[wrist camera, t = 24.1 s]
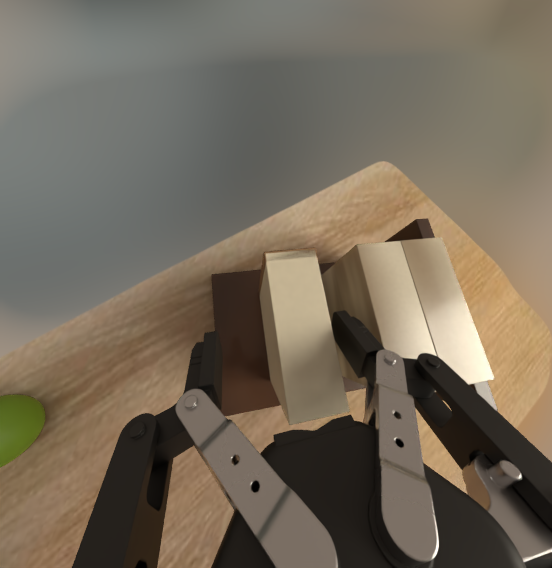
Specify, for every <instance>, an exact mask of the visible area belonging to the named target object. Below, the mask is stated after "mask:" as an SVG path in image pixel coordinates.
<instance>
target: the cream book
mask: <svg viewBox="0 0 552 568" xmlns="http://www.w3.org/2000/svg"><path fill="white" fill-rule="evenodd" d="M258 291H259V296H260V304H261V311H262V319H263V327H264V334H265V342H266V350H267V357H268V365H269V372H270V380H271V383H272V385H273V388H274V390H275V392H276V395H277V397H278V399H279V402H280V404H281V406H282V409H283V411H284V413H285V416H286V418H287V421H288V423H289V425H293V424H297V423H302V422H306V421H311V420H315V419H319V418H324V417H328V416H333V415H337V414H342V413H346V412H349V406H348V402H347V397H346V392H345V387H344V383H343V378H342V373H341V368H340V364H339V359H338V354H337V350H336V345H335V340H334V335H333V331H332V326H331V321H330V316H329V312H328V307H327V302H326V297H325V293H324V288H323V283H322V278H321V274H320V269H319V264H318V260H317V252H316V248H304V249H292V250H281V251H270V252H264V254H263V261H262V268H261V275H260V282H259V289H258Z"/></svg>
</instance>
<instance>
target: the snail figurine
mask: <svg viewBox="0 0 552 568" xmlns="http://www.w3.org/2000/svg"><path fill="white" fill-rule="evenodd" d="M44 422H45V410H44V407H43V406H42V404H41V403H40V402H39V401H38V400H36V399H35V398H33V397H30V396H26V395H18V394H13V395H3V396H0V467H2V466H4V465H6V464H8V463H9V462H11V461H12V460H14V459H15V458H17V457H18V456H19V455H21V454H22V453H23V452H24V451H25V450H26V449H28V448H29V447H30V446H31V444H32V443H33V442H34V441H35V440H36V438H37V437H38V435H39V434H40V432H41V430H42V428H43V426H44Z"/></svg>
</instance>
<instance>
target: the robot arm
mask: <svg viewBox="0 0 552 568" xmlns="http://www.w3.org/2000/svg"><path fill="white" fill-rule="evenodd" d="M331 326H332V331H333V335H334V340H335V342H336V343H337V345H338V346H339V348H340V350H341V351H342V353H343V354H344V356H345V358H346V359H347V361H348V362H349V364H350V366H351V367H352V369H353V370H354V372H355V374H356V375H357V377H358V379H359V378H363V377H365V378H366V379H367V384H366V401H365V415H364V419H363V423H362V422H358V421H354V420H353V418H352V416H351V415H348V416H344V417H340V418H336V419H333V420H331V421H330V422H328V423H327V424H325V425H324V426H322V427H321V428H319V429H318V430H315V431H310V430H291V431H287V432H283V433H279V434H276V435H274V442H272V443H271V444H269V445H268V446H267V447H266V448H265V449H264V450H263V451H262V452H261V453H259V452H258V451H257V450H256V449H255V447H254V446H253V445H252V444H251V443H250V441H249V440H248V439H247V438H246V437H245V436H244V434H243V433H242V432H241V431H240V430H239V428H238V427H237V426H236V425H235V424H234V423H233V422H232V421H231V420H228V419H227V418H226V417H225V416H224V415H223V414H222V413H221V411H220V410H221V409H222V365H223V354H222V347H221V343H220V339H219V334H218V331H213V332H207V333H205V335H204V342H199V343H196V345H195V346H194V348H193V349H192V353H191V359H190V364H189V369H188V374H187V380H186V385H185V390H184V393H183V395H182V396H181V397H180V398H179V400H178V402H177V403H176V404H175V405H174V406H172V407H171V408H169V409H167V410H165V411H164V412H162V413H160V414H158V415H156V416H153V415H152V414H149V413H145V414H141V415H139V416H137V417H135V418H133V419H132V420H131V421H130V422H129V423H128V424H127V425H126V426H125V427H124V428H123V430H122V432H121V434H120V436H119V439H118V442H117V444H116V447H115V450H114V453H113V455H112V458H111V461H110V464H109V467H108V469H107V472H106V475H105V478H104V480H103V483H102V486H101V489H100V491H99V494H98V497H97V500H96V503H95V505H94V508H93V511H92V514H91V516H90V519H89V522H88V525H87V528H86V530H85V533H84V536H83V539H82V541H81V544H80V547H79V550H78V552H77V555H76V558H75V561H74V564H73V566H72V568H157V565H158V558H159V551H160V545H161V538H162V531H163V525H164V518H165V511H166V504H167V498H168V491H169V484H170V478H171V471H172V464H173V458H174V457H176V456H178V455H179V454H181V453H182V452H184V451H185V450H187V449H189V448H190V447H192V446H193V445H194V446H195V448H196V449H197V451H198V453H199V454H200V456H201V457H202V459H203V461H204V462H205V464H206V465H207V467H208V468H209V470H210V472H211V473H212V475H213V477H214V478H215V480H216V482H217V483H218V485H219V487H220V488H221V490H222V492H223V493H224V495H225V496H226V498H227V499H228V501H229V503H230V504H231V506H232V507H233V509H234V513H233V516H232V518H231V521H230V523H229V526H228V528H227V530H226V533H225V535H224V538H223V540H222V542H221V545H220V547H219V550H218V552H217V555H216V557H215V559H214V562H213V564H212V567H211V568H526V566H525V563H524V562H526V561H529V560H531V559H534V558H537V557H538V558H541V559H550V558H552V462H551V461H550V460H548V459H547V458H546V457H545V456H544V455H543V454H542V453H541V452H540V451H539V450H538V449H537V448H536V447H535V446H534V445H533V444H531V443H530V442H529V441H528V440H527V439H526V438H525V437H524V436H523V435H522V434H521V433H520V432H519V431H518V430H517V429H515V428H514V427H513V426H512V425H511V424H510V423H509V422H508V421H507V420H506V419H505V418H504V417H503V416H502V415H501V414H499V413H498V412H497V411H496V410H495V409H494V408H493V407H492V406H491V405H490V404H489V403H488V402H487V401H486V400H485V399H483V398H482V397H481V396H480V395H479V394H478V393H477V392H476V391H475V390H474V389H473V388H472V387H471V386H470V385H469V384H468V383H466V382H465V381H464V380H463V379H462V378H461V377H460V376H459V375H458V374H457V373H456V372H455V371H454V370H453V369H452V368H450V367H449V366H448V365H447V364H446V363H445V362H444V361H443V360H442V359H440V358H439V357H437V356H435V355H433V354H429V353H421V354H419V356H418V357H417V359H411V358H401V357H400V356H399V355H398V354H397V353H395V352H393V351H391V350H386V349H385V348H384V347H383V346H382V345H381V344H380V342H379V341H378V340H377V339H376V338H375V337H374V336H373V334H372V333H371V332H369V330H368V329H367V328H366V327H365V325H364V324H363V323H362V322H361V321H360V320H359V319H357V318H355V317H354V316H353V317H351V316H350V315H349V314H348V313H347V311H345V310H343V311H337V312H334V313H333V317H332V323H331ZM435 391H436V392H437V393H438V394H439V395H440V396H441V397H442V399H443V400H444V401H445V402H446V403H447V404H448V405H449V407H450V408H451V410H452V411H451V410H450V409H449V408H448V407H447V406H446V404H445V403H444V402H443V401H442V400H441V399H440V398H439V397H438V395H437V394H436V393H435ZM415 408H416V409H417V410H418V412H419V413H420V414H421V416H422V417H423V418H424V420H425V421H426V422H427V424H428V425H429V426H430V428H431V429H432V430H433V432H434V433H435V434H436V436H437V437H438V438H439V440H440V441H441V442H442V444H443V445H444V446H445V448H446V449H447V450H448V452H449V453H450V454H451V456H452V457H453V459H454V460H455V461H456V463H457V464H458V465H459V467H460V468H461V469H462V475H463V479H464V482H465V484H466V490H467V493H468V494H469V496H468V495H467V494H466V493H464V492H463V491H461V490H460V489H459V488H457V487H456V486H455V485H453V484H452V483H450V482H449V481H448V480H446V479H445V478H443V477H442V476H441V475H439V474H438V473H437V472H435V471H434V470H432V469H431V468H430V467H428V466H427V465H426V464H424V463H423V459H422V452H421V446H420V439H419V432H418V425H417V418H416V412H415Z"/></svg>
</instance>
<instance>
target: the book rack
mask: <svg viewBox="0 0 552 568" xmlns="http://www.w3.org/2000/svg"><path fill="white" fill-rule="evenodd" d="M319 269H320V274H321V278H322V283H323V288H324V293H325V297H326V302H327V307H328V312H329V316H330V321H331V323H332V317H333V313H334V312H337V311H343V310H345V311H347V313H348V314H349V315H350V316H351V317H353V316H354V317H355V318H357V319H359V320H360V321H361V322H362V323H363V324H364V325H365V327H366V328H367V329H368V330H369V332H371V333H372V334H373V336H374V337H375V338H376V339H377V340H378V341H379V342H380V344H381V345H382V346H383V347H384V348H385V349H386V350H391V351H393V352H395V353H397V354H398V355H399V356H400V357H401V358H411V359H417V357H418V356H419V354H421V353H429V354H433V355H435V356H437V357H439V358H440V359H442V360H443V361H444V362H445V363H446V364H447V365H448V366H449V367H450V368H452V369H453V370H454V371H455V372H456V373H457V374H458V375H459V376H460V377H461V378H462V379H463V380H464V381H465V382H466V383H468V384H469V385H470V386H471V387H472V388H473V389H474V390H475V391H476V392H477V393H478V394H479V395H480V396H481V397H482V398H483V399H485V400H486V401H487V402H488V403H489V404H490V405H491V406H492V407H493V408H494V409H495V410H496V411H498V409H497V407H496V404H495V401H494V398H493V396H492V393H491V390H490V387H489V385H488V382H487V381H489V380H493V379H495V378H494V376H493V373H492V370H491V368H490V365H489V362H488V360H487V357H486V354H485V352H484V349H483V346H482V344H481V341H480V338H479V336H478V333H477V330H476V328H475V325H474V322H473V320H472V317H471V314H470V312H469V309H468V306H467V304H466V301H465V298H464V296H463V293H462V290H461V288H460V285H459V282H458V280H457V277H456V274H455V272H454V269H453V266H452V264H451V261H450V258H449V256H448V253H447V250H446V248H445V245H444V242H443V240H442V237H439V238H435V237H434V234H433V231H432V229H431V226H430V223H429V220H428V219H416V220H415V221H413V222H412V223H410V224H409V225H408V226H406V227H405V228H403V229H402V230H401V231H399V232H398V233H396V234H395V235H394V236H392V237H391V238H389V239H388V240H387V241H385V242H381V243H369V244H357V245H355V246H354V247H353V248H352V249H351V250H350V251H349V252H347V253H346V254H345V255H344V256H343V257H342V258H341V259H340V260H338V261H337V262H336V263H326V264H319ZM260 275H261V270H253V271H243V272H232V273H222V274H212V289H213V304H214V320H215V331H218V334H219V339H220V343H221V347H222V354H223V365H222V409H221V413H222V414H223V415H224V416H229V415H234V414H239V413H244V412H249V411H254V410H259V409H264V408H269V407H274V406H279V405H281V404H280V402H279V399H278V397H277V395H276V392H275V390H274V388H273V385H272V383H271V380H270V372H269V365H268V357H267V350H266V342H265V334H264V327H263V319H262V311H261V304H260V296H259V291H258V289H259V282H260ZM335 345H336V350H337V354H338V359H339V364H340V368H341V373H342V378H343V383H344V387H345V392H348V391H353V390H358V389H363V388H366V384H367V379H366V378H365V377H363V378H359V379H358V377H357V375H356V374H355V372H354V370H353V369H352V367H351V366H350V364H349V362H348V361H347V359H346V358H345V356H344V354H343V353H342V351H341V350H340V348H339V346H338V345H337V343H336V342H335ZM435 393H436V394H437V395H438V397H439V398H440V399H441V400H443V399H442V397H441V396H440V395H439V394H438V393H437V392H436V391H435ZM443 401H444V400H443Z"/></svg>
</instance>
